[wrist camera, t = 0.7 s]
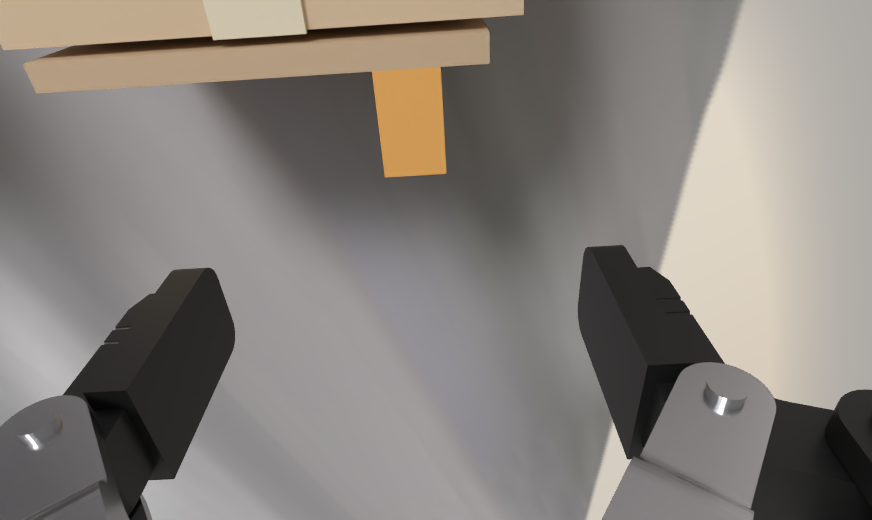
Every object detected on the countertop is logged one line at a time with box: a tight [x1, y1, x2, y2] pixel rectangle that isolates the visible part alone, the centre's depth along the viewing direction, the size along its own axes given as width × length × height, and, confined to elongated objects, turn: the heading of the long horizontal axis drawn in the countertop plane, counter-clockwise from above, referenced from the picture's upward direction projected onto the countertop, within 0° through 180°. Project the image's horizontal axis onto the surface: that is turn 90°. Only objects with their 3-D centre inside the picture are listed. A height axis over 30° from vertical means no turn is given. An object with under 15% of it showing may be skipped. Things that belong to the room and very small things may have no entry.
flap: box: [23, 18, 490, 177], centre depth 24 cm, size 5×16×11 cm, turn 93°
